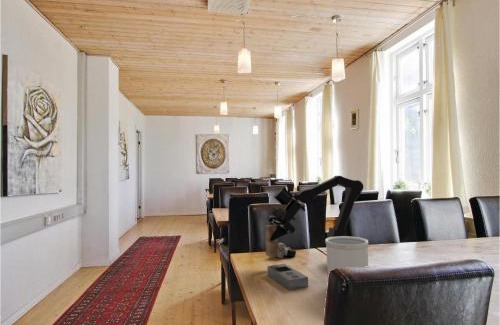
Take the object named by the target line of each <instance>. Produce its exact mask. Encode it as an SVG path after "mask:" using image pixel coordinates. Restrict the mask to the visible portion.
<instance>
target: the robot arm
mask: <svg viewBox="0 0 500 325" xmlns="http://www.w3.org/2000/svg"><path fill="white" fill-rule="evenodd" d="M337 186H341V187H343V188H344V199H343V202H342V204H341V208H340V210H339V212H338V213H339V214H338V216H337V219H336V222H335V224H334V226H333V227H331V226H330V227H329V228H328V231H327V233H326V236H327V237H326V238H329V237H337V236H347V235H346V227H347V225H348V222H349V218H350V217H351V216H350V215H351V213H352V210H353V207H354V204H355V201H356V200H357V199H358V197H359V196H360V195H361V194H362V192H363V190H364V184H363V182H362V181H361V180H358V179H350V178H347V177H344V176H342V175H334V176H333V177H331V178H329V179H327V180H325V181H322V182H321V183H319V184H317V185H315V186H312V187H308V188H303V189H299V190H298V191H296V192H295V193H290V191H288V189H287V188H286V187H285V186H282V187H281V188H280V189H279V190H278V191H276V192H274V195H273V197H272V198H274V199H275V201H277V203H279V204H280V206H286V207H285V208H284V209H283V208H281V207H277V208H276V207H272V206H270V207H269V209H268V212H267V214H268V215H269V216H267V218H265V220H266V221H267V222H268V223H269V224H268V225H276V226H277V227H276V230H275V232H274V233H273V235H272V237H271V238H270V240H271V241H273V240H275V239H277V238H278V239H279V238H282V237H283V236H286V235H288V234H290V235H294V234H295V233H296V231H297V230H296V227H295V226H294V224H292V221H295V220H296V218H295V217H296V216H297V215H298V213H299V212H306V208H305V204H308V203H310V202H311V201H313V200H314V199H316V197H317V196H318V195H320V194H322V193H324V192H327V191H329V190H331V189H333V188H335V187H337ZM301 203H302V204H304V205H302V204H301ZM270 215H271V216H270ZM288 232H289V233H288Z"/></svg>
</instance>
